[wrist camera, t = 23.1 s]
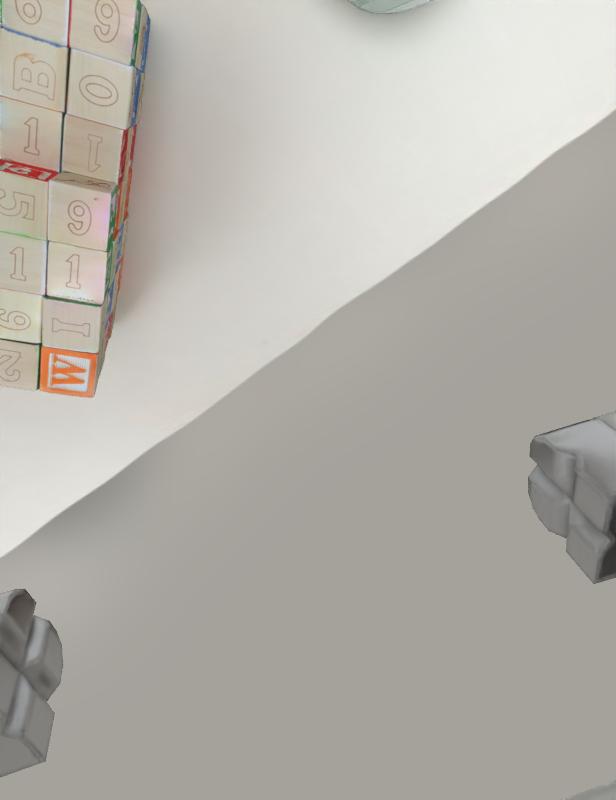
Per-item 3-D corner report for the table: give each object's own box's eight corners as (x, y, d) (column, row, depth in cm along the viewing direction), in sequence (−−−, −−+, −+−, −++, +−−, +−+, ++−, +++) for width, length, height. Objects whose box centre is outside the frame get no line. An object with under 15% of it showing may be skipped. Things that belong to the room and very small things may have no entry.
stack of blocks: (45, -19, 32) (-22, -74, 22) (152, 18, 34) (138, -16, 24) (29, 312, 41) (-23, 386, 31) (115, 327, 43) (93, 402, 33)
